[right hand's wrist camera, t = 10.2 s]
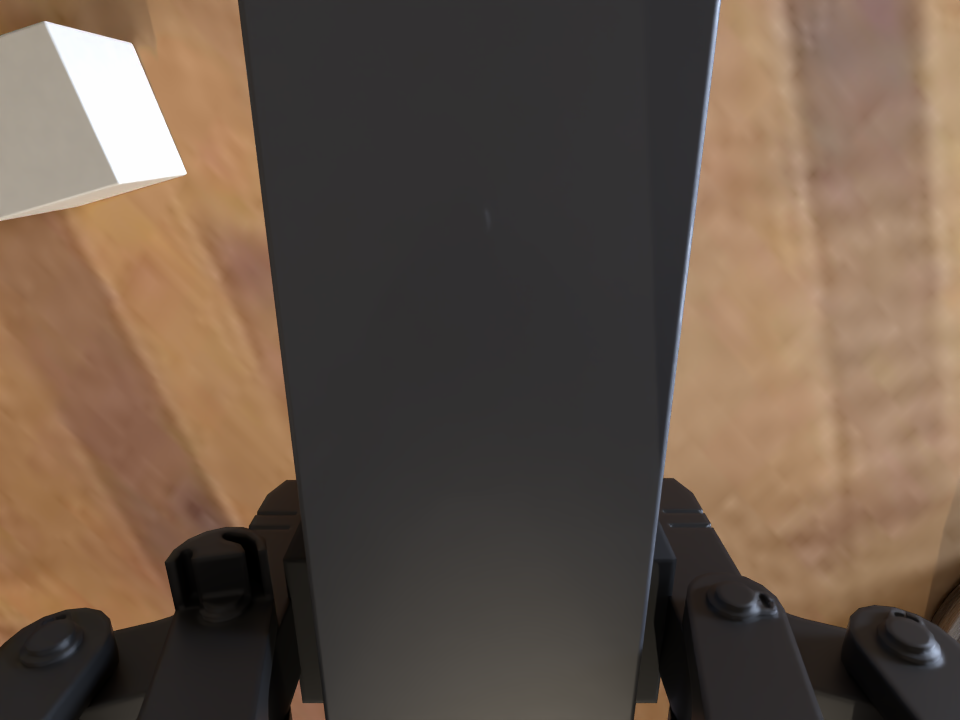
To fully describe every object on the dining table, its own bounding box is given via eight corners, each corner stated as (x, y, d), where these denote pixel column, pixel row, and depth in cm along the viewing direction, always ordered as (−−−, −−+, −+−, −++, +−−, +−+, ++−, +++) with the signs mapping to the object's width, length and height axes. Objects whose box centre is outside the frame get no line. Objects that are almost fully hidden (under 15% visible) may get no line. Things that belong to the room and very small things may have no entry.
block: (132, 42, 23) (44, 19, 18) (188, 174, 25) (120, 184, 20) (15, 79, 24) (-100, 66, 19) (77, 206, 25) (-14, 223, 21)
